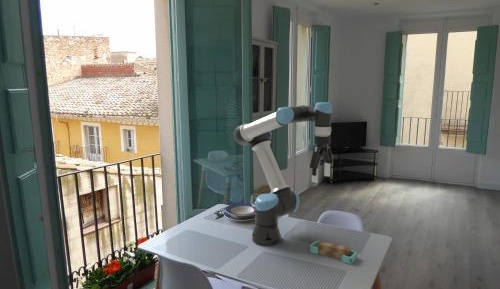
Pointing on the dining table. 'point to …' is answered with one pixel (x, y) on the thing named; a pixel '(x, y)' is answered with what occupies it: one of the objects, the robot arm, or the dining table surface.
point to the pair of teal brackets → (345, 259)
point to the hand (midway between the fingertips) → (321, 179)
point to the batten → (333, 250)
